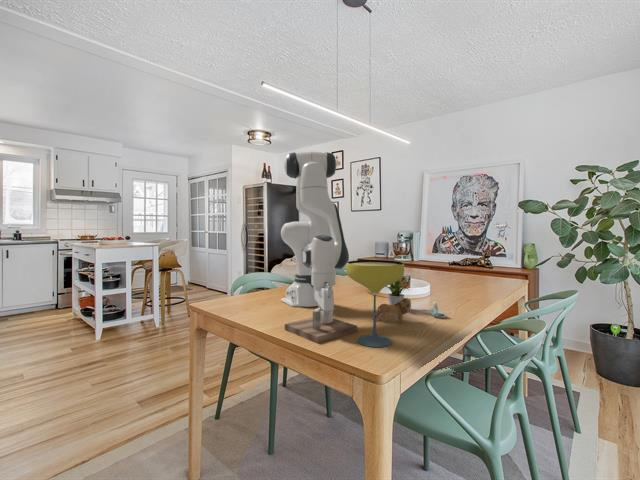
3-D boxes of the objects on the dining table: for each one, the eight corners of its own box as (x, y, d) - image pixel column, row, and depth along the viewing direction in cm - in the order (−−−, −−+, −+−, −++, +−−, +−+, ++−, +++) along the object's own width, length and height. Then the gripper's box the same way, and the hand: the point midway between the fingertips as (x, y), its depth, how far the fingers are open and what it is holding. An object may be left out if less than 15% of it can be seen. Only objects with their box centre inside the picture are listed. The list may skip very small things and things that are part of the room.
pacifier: (443, 314, 137) (428, 313, 137) (443, 299, 137) (429, 299, 137) (448, 319, 130) (433, 318, 130) (449, 303, 129) (434, 303, 130)
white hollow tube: (316, 323, 116) (316, 311, 116) (313, 318, 122) (313, 307, 122) (334, 322, 117) (334, 310, 117) (330, 318, 123) (330, 306, 123)
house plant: (413, 314, 136) (413, 275, 135) (379, 312, 140) (379, 274, 139) (413, 306, 149) (413, 271, 149) (382, 304, 153) (382, 270, 153)
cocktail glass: (414, 341, 104) (415, 262, 103) (382, 357, 91) (383, 267, 90) (368, 328, 117) (368, 258, 116) (334, 341, 104) (334, 262, 103)
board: (284, 329, 116) (284, 307, 116) (323, 320, 128) (323, 299, 127) (317, 343, 102) (317, 317, 102) (357, 331, 114) (357, 308, 113)
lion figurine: (408, 319, 129) (409, 296, 129) (413, 323, 124) (413, 299, 124) (371, 319, 129) (371, 296, 128) (374, 323, 123) (374, 299, 123)
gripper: (338, 284, 109) (338, 325, 110) (326, 276, 130) (326, 310, 130) (319, 285, 108) (319, 326, 109) (310, 276, 129) (310, 311, 129)
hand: (323, 317), depth 120 cm, fingers closed on white hollow tube, 6 cm apart
